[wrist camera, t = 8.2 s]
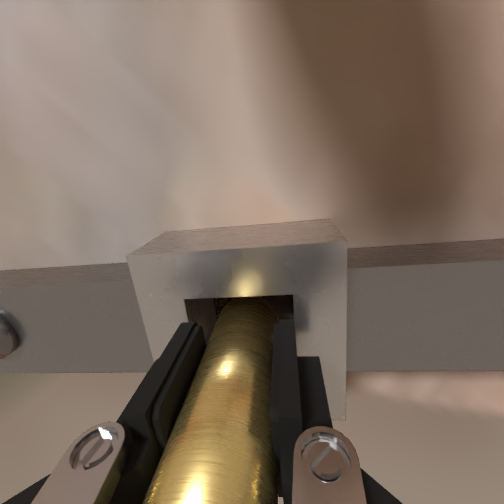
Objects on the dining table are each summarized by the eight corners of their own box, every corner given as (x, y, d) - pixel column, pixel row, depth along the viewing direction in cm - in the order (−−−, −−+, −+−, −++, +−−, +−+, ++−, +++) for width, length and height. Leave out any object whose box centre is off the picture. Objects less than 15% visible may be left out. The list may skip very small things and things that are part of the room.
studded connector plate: (606, 197, 11) (752, 214, 8) (557, 358, 13) (650, 425, 10) (-23, 246, 15) (-113, 272, 11) (29, 364, 17) (-32, 413, 14)
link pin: (284, 288, 11) (291, 665, 3) (288, 355, 12) (303, 772, 4) (206, 292, 12) (14, 627, 3) (217, 356, 13) (93, 732, 4)
